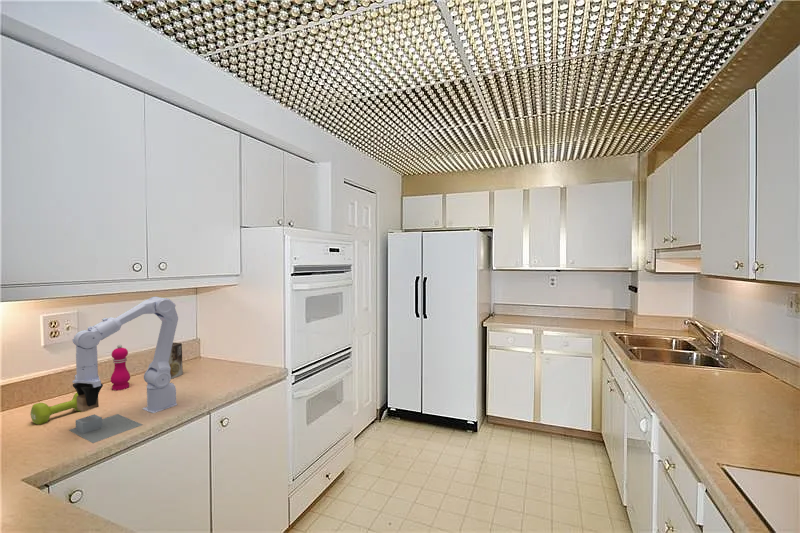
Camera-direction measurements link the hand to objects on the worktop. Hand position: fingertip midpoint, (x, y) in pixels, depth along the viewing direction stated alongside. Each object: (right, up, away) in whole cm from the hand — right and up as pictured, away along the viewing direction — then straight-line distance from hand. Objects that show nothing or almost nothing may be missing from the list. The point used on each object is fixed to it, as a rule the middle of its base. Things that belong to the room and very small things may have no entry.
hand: (88, 403), depth 132 cm
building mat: (+5, -9, +1) cm, 11 cm away
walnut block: (0, -1, 0) cm, 1 cm away
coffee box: (-5, -7, +56) cm, 57 cm away
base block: (0, -9, 0) cm, 9 cm away
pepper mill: (-19, -8, +41) cm, 45 cm away
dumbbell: (-19, -9, +11) cm, 24 cm away
